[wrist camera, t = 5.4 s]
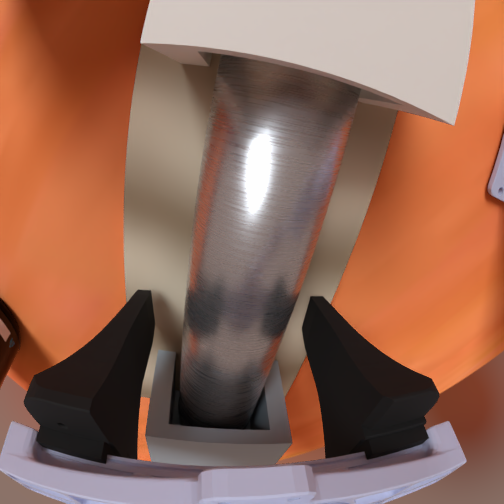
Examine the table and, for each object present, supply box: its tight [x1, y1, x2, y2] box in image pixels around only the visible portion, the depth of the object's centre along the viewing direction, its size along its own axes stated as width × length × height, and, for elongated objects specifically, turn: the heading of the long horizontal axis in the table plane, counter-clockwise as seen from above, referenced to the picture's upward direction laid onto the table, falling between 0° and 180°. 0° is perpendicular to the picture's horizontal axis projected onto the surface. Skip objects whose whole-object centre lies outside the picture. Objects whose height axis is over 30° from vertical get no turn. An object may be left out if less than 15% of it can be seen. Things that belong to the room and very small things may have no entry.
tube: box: [178, 54, 361, 430], centre depth 11 cm, size 19×4×4 cm, turn 169°
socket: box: [145, 350, 292, 466], centre depth 15 cm, size 5×7×5 cm
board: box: [124, 44, 398, 398], centre depth 13 cm, size 27×10×1 cm, turn 169°
